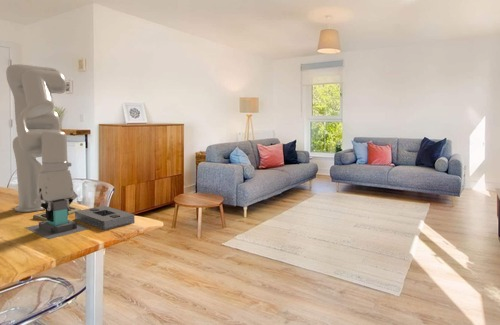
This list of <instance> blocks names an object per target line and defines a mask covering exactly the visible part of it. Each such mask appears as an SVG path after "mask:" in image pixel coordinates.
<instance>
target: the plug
mask: <svg viewBox="0 0 500 325" xmlns="http://www.w3.org/2000/svg"><path fill="white" fill-rule="evenodd" d="M52 210H53V220H54V221H53V222H50V221H48V224H51V225H53V226H58V225H63V224H67V223H68V220H69V219H68V218H69V217H68V216H69V215H68V212H67V200H64V199H63V200H57V201H53V202H52Z"/></svg>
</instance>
